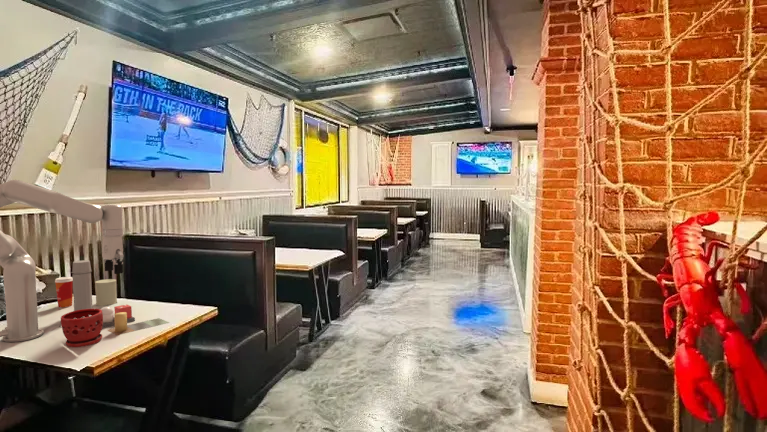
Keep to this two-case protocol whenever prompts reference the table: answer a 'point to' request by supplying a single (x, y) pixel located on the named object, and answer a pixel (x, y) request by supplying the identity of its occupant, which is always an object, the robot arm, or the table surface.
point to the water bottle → (82, 285)
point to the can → (106, 292)
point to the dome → (107, 315)
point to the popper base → (119, 309)
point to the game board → (140, 326)
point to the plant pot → (82, 327)
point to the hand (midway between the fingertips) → (113, 272)
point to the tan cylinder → (120, 321)
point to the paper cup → (64, 291)
